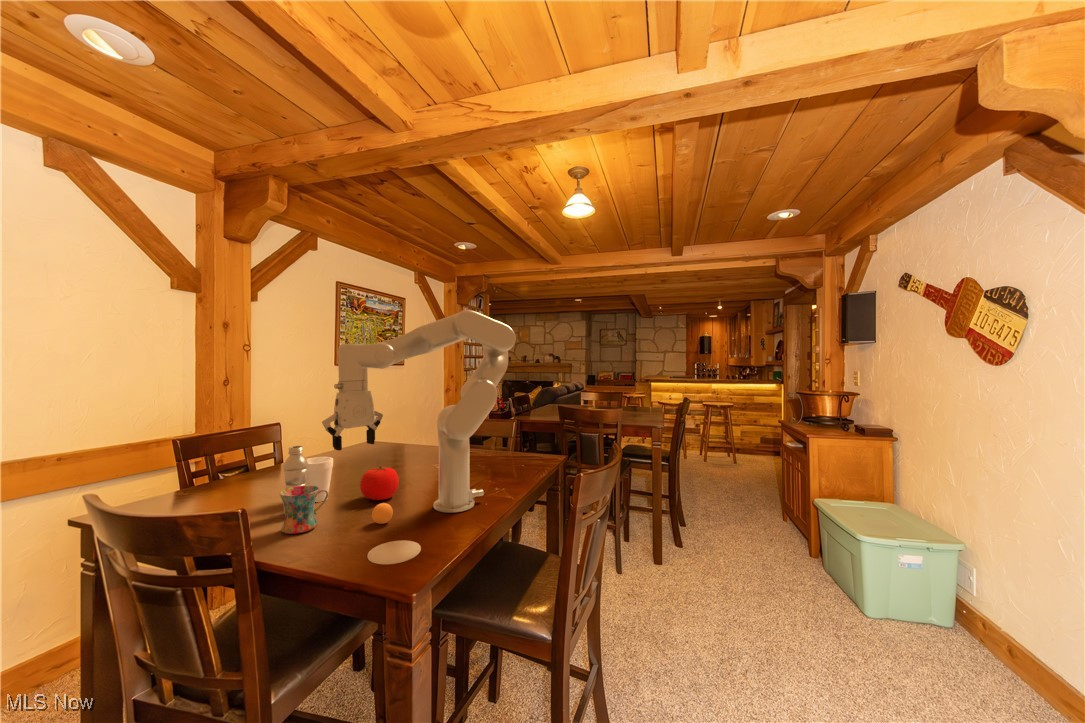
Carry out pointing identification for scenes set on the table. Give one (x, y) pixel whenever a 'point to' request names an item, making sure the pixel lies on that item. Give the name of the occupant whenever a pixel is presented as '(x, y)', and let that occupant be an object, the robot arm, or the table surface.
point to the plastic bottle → (295, 468)
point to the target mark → (394, 552)
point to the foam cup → (319, 475)
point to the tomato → (379, 483)
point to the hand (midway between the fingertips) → (354, 446)
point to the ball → (382, 513)
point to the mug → (300, 508)
